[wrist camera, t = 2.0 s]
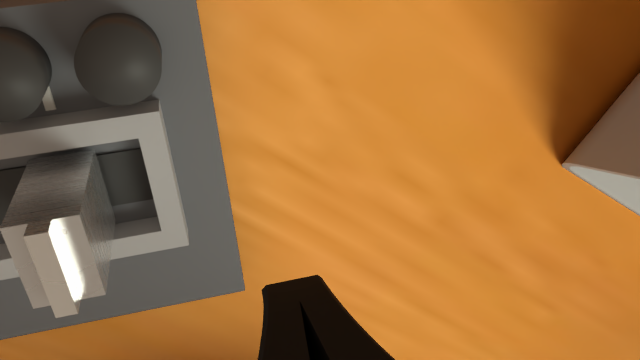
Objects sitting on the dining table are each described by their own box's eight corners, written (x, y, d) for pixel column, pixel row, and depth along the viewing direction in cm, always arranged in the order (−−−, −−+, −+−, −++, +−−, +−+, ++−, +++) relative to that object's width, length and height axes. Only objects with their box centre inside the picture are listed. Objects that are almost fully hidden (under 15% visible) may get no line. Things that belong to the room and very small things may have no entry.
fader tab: (115, 219, 20) (104, 308, 16) (55, 230, 20) (29, 323, 16) (94, 148, 19) (76, 227, 15) (29, 158, 19) (-6, 241, 15)
